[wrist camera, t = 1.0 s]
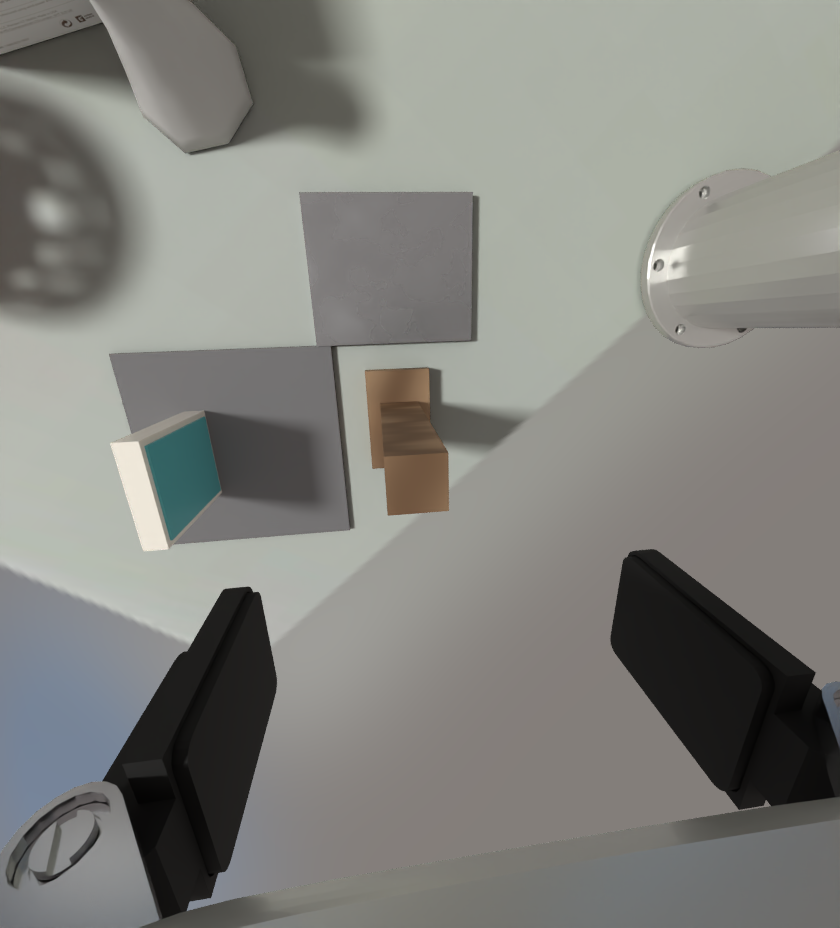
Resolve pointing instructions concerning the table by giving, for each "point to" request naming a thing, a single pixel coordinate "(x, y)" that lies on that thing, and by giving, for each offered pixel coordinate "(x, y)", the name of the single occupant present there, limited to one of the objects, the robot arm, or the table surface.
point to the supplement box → (42, 20)
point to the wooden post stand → (406, 441)
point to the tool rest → (389, 266)
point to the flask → (179, 69)
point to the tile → (168, 477)
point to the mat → (251, 433)
